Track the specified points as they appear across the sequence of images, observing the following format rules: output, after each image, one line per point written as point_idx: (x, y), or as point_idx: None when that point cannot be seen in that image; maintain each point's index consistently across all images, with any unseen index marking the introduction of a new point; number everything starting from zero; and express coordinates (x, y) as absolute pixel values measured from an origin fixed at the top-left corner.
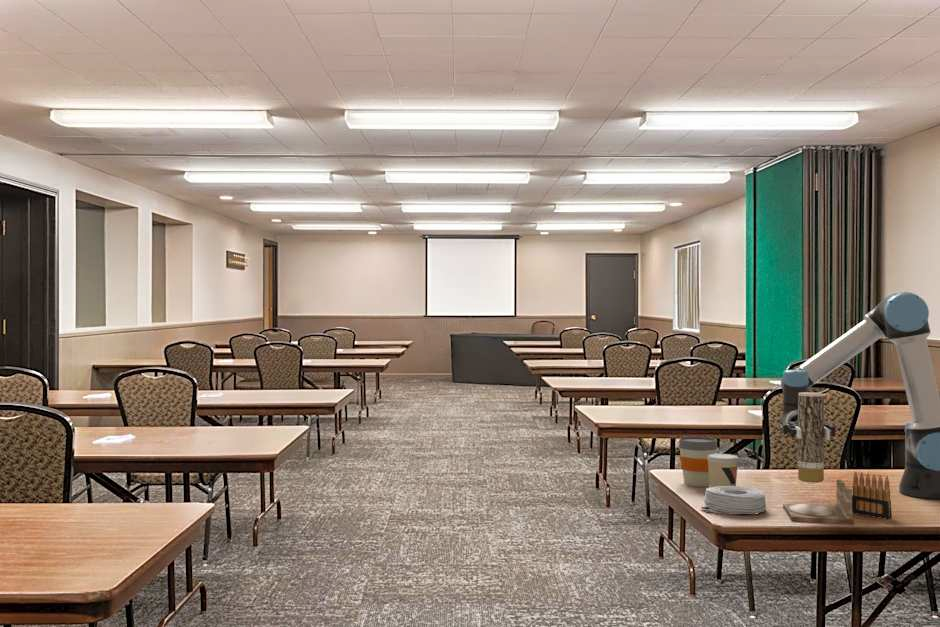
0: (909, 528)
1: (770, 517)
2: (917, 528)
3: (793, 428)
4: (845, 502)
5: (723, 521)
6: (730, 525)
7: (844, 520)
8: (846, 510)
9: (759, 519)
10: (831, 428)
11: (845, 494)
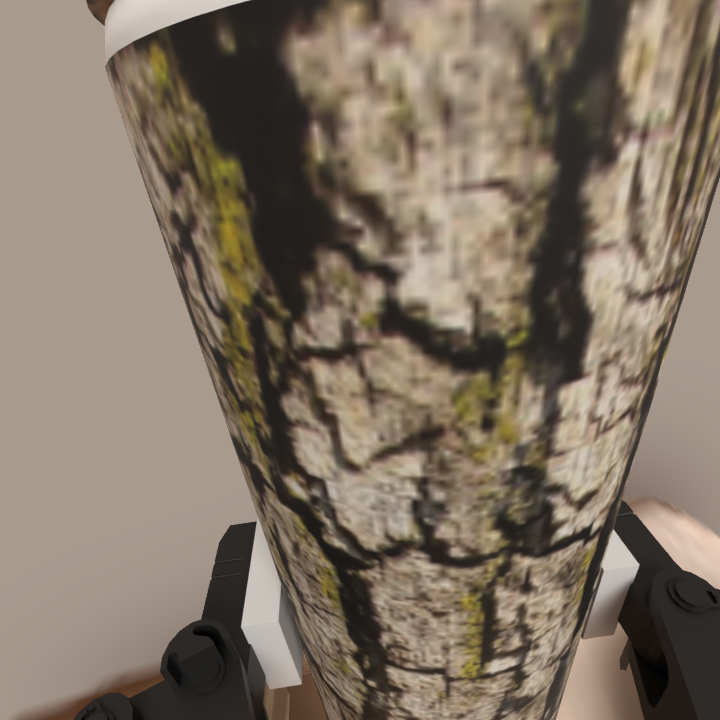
0: (88, 696)
1: (593, 692)
2: (55, 709)
3: (635, 556)
4: (274, 715)
5: (697, 557)
6: (645, 519)
7: (305, 678)
8: (282, 703)
9: (613, 634)
10: (140, 716)
11: (265, 697)
